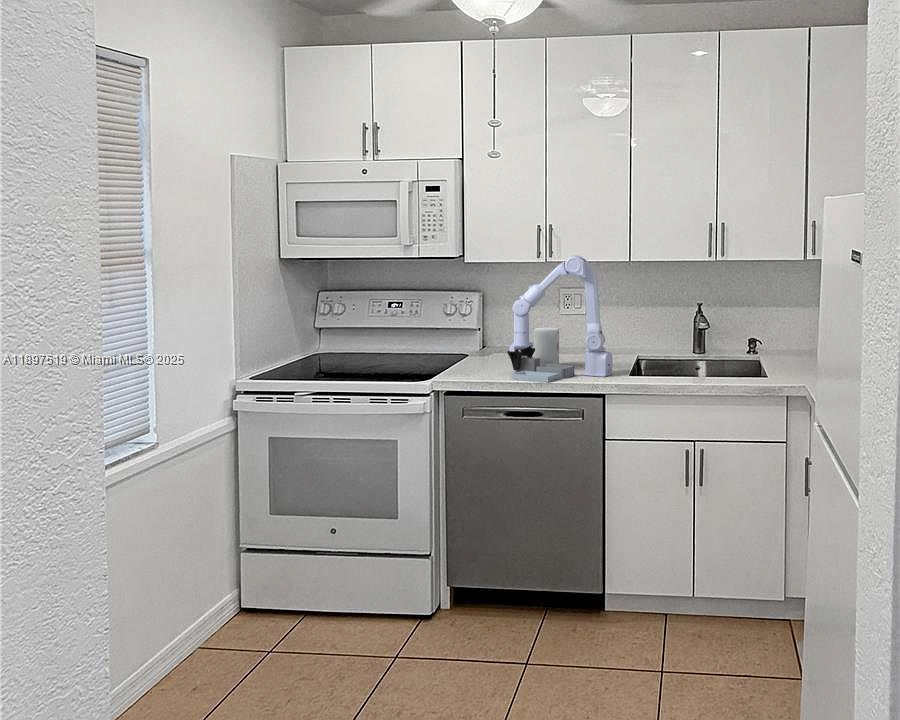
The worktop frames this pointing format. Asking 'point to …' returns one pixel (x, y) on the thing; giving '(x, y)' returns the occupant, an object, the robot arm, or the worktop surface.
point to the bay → (557, 370)
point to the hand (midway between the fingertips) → (521, 368)
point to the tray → (535, 376)
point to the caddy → (528, 364)
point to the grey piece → (546, 345)
